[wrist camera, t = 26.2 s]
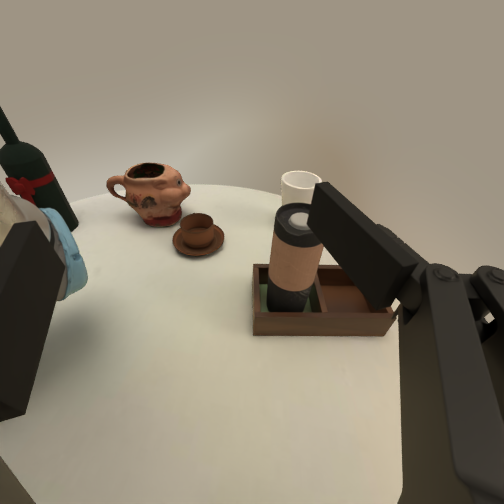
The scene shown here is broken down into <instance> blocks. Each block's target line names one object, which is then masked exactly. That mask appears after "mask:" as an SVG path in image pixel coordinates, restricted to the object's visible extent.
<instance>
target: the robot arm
mask: <svg viewBox="0 0 504 504" xmlns="http://www.w3.org/2000/svg"><path fill="white" fill-rule="evenodd" d="M307 226H308V227H309V228H310V229H311V231H312V232H313V233H314V234H315V236H316V237H317V238H318V239H319V241H320V242H321V243H322V244H323V246H324V247H325V248H326V249H327V251H328V252H329V253H330V254H331V255H332V257H333V258H334V259H335V260H336V262H337V263H338V264H339V265H340V267H341V268H342V269H343V270H344V272H345V273H346V274H347V275H348V277H349V278H350V279H351V280H352V282H353V283H354V284H355V285H356V287H357V288H358V289H359V290H360V292H361V293H362V294H363V295H364V296H365V298H366V299H367V300H368V301H369V303H370V304H371V305H372V306H373V308H374V309H375V310H376V311H377V310H380V309H384V308H387V307H390V306H391V305H392V303H393V302H394V300H395V298H397V299H398V300H399V301H400V305H399V306H398V308H397V309H396V311H395V312H394V313H393V315H392V318H391V319H392V320H394V319H395V317H396V316H397V315H398V325H399V362H400V398H401V435H402V471H403V488H402V494H401V496H400V498H399V501H398V503H397V504H504V270H502V269H499V268H496V267H492V266H481V267H479V268H478V269H477V270H476V271H475V272H474V273H473V274H458V273H457V272H456V271H455V270H453V269H451V268H450V267H448V266H445V265H442V264H436V263H434V264H429V263H428V262H427V261H426V260H424V259H423V258H422V257H421V256H420V255H419V254H417V253H416V252H415V251H414V250H413V249H412V248H410V247H409V246H408V245H407V244H406V243H404V242H403V241H402V240H401V239H400V238H397V236H396V235H395V234H394V233H393V232H392V231H391V230H389V229H388V228H386V227H384V226H382V225H380V224H375V223H374V222H373V221H372V220H370V219H369V218H368V217H367V216H366V215H365V214H364V213H363V212H361V211H360V210H359V209H358V208H357V207H356V206H355V205H353V204H352V203H351V202H350V201H349V200H348V199H347V198H345V197H344V196H343V195H342V194H341V193H340V192H339V191H338V190H336V189H335V188H334V187H333V186H332V185H331V184H330V183H329V182H321V183H315V187H314V192H313V196H312V201H311V205H310V210H309V214H308V219H307ZM87 280H88V275H87V270H86V267H85V264H84V261H83V258H82V257H81V255H80V254H79V250H78V246H77V244H76V242H75V240H74V238H73V236H72V234H71V232H70V230H69V228H68V226H67V225H66V223H65V221H64V220H63V218H62V217H61V215H60V214H59V213H58V212H57V211H56V210H55V209H51V208H45V209H43V208H39V209H38V208H37V207H36V206H35V205H34V204H32V203H30V202H29V201H27V200H25V199H22V198H20V197H17V196H13V195H10V194H9V193H8V192H7V190H6V189H5V187H4V186H3V185H2V183H1V182H0V422H1V421H5V420H8V419H12V418H15V417H18V416H22V415H25V413H26V409H27V406H28V402H29V398H30V395H31V391H32V387H33V384H34V380H35V376H36V373H37V369H38V366H39V362H40V358H41V355H42V351H43V347H44V344H45V340H46V336H47V333H48V329H49V325H50V322H51V318H52V315H53V311H54V307H55V304H56V301H62V300H64V299H66V298H67V297H68V296H69V295H71V294H73V293H75V292H77V291H78V290H80V289H82V288H83V287H84V286H85V285H86V283H87ZM490 312H491V314H492V315H493V317H494V318H495V319H494V320H493V321H491V322H490V323H488V322H487V321H486V320H485V318H484V317H485V316H486V315H487V314H488V313H490ZM0 504H36V503H35V502H34V501H33V499H32V498H31V497H30V495H29V494H28V493H27V491H26V490H25V489H24V487H23V486H22V485H21V483H20V482H19V481H18V479H17V478H16V477H15V475H14V474H13V473H12V471H11V470H10V469H9V467H8V466H7V465H6V463H5V462H4V461H3V459H2V458H1V457H0Z"/></svg>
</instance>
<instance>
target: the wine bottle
mask: <svg viewBox="0 0 504 504" xmlns="http://www.w3.org/2000/svg"><path fill="white" fill-rule="evenodd" d="M0 134H1V136H2V137H3V139H4V141H5V143H6V144H5V145H4V146H3V147H2V148H1V149H0V165H1V166H2V168H3V169H4V171H5V173H6V174H7V176H8V178H6V182H7V184H8V185H9V187H10V188H11V190H12V191H13V192H14V193H15V194H16V195H20V197H21V198H22V199H25V200H27V201H29V202H30V203H32V204H34V205H35V206H36V207H37V208H38V209H39V208H43V209H45V208H51V209H55V210H56V211H57V212H58V213H59V214H60V215H61V217H62V218H63V220H64V221H65V223H66V225H67V226H68V228H69V230H70V232H72V231H73V230H74V229H75V228H76V227H78V220H77V218H76V216H75V214H74V212H73V210H72V208H71V206H70V205H69V203H68V201H67V199H66V197H65V195H64V193H63V191H62V189H61V187H60V185H59V183H58V181H57V179H56V177H55V176H54V174H53V172H52V170H51V168H50V166H49V164H48V162H47V160H46V158H45V157H44V154H43V153H42V152H41V151H40V150H39V149H37V148H36V147H34V146H33V145H30V144H28V143H25V142H21V141H19V140H18V137H17V136H16V134H15V132H14V130H13V129H12V127H11V125H10V123H9V121H8V119H7V118H6V116H5V114H4V112H3V110H2V109H1V107H0Z"/></svg>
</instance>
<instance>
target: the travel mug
mask: <svg viewBox="0 0 504 504" xmlns="http://www.w3.org/2000/svg"><path fill="white" fill-rule="evenodd" d="M310 205H311V204H308V203H299V202H298V203H289V204H286V205H283V206H281V207H280V208H279V209H278V210H277V212H276V216H275V224H274V232H273V240H272V247H271V255H270V263H269V271H268V285H267V300H266V304H267V308H268V310H269V312H303V311H304V308H305V305H306V302H307V299H308V297H309V294H310V291H311V288H312V285H313V282H314V279H315V276H316V272H317V269H318V265H319V261H320V258H321V254H322V251H323V247H324V246H323V244H322V243H321V242H320V241H319V239H318V238H317V237H316V236H315V234H314V233H313V232H312V231H311V229H310V228H309V227H308V226H307V219H308V214H309V210H310Z"/></svg>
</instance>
